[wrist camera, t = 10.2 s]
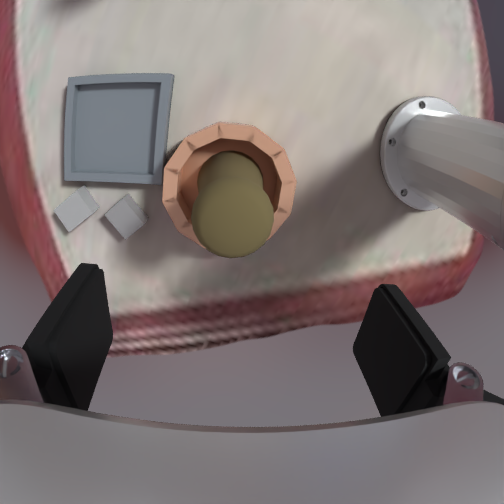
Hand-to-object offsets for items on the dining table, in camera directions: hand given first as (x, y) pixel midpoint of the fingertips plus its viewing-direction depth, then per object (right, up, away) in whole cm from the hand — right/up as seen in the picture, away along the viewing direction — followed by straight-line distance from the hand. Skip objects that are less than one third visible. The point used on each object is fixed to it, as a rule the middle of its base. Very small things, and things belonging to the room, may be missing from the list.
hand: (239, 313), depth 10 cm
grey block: (-12, +6, +19) cm, 23 cm away
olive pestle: (-2, +8, +18) cm, 20 cm away
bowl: (-2, +9, +19) cm, 21 cm away
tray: (-12, +14, +15) cm, 24 cm away
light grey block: (-17, +7, +18) cm, 26 cm away
